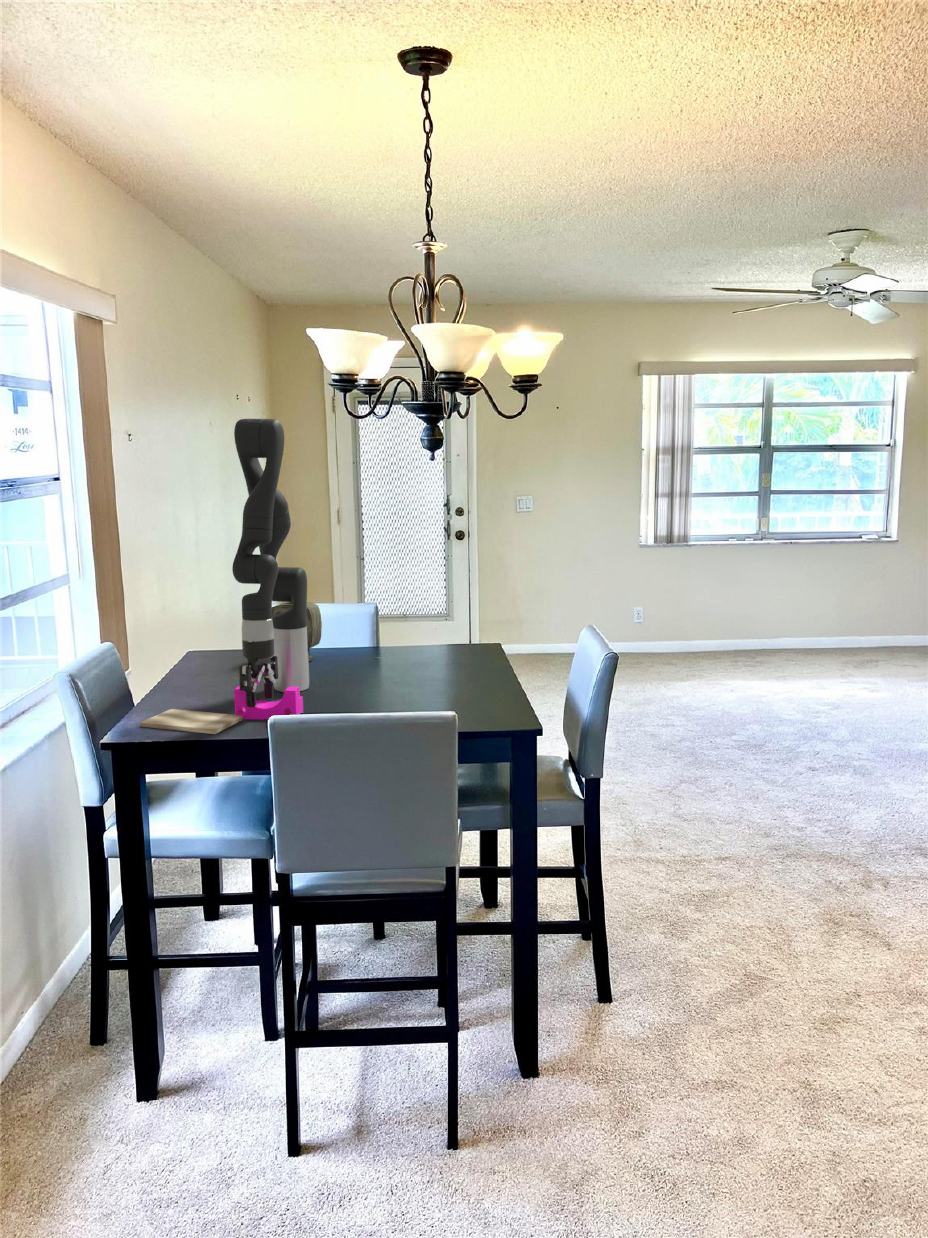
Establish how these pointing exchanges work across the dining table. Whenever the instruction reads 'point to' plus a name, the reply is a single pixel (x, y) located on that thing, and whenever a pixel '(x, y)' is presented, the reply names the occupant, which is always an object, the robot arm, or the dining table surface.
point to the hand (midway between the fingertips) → (260, 702)
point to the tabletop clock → (312, 622)
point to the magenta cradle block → (269, 705)
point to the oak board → (192, 721)
